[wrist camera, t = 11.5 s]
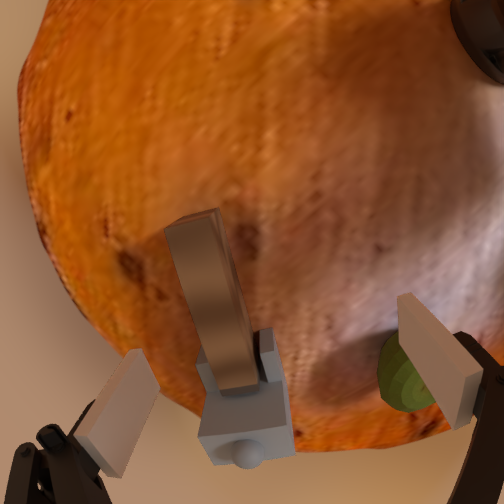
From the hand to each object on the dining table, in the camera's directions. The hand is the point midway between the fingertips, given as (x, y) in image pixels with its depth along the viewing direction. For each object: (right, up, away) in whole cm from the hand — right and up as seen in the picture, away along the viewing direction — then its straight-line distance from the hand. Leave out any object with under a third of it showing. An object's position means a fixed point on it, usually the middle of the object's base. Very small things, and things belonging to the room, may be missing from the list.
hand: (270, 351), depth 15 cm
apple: (+19, -7, +22) cm, 30 cm away
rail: (-4, 0, +20) cm, 20 cm away
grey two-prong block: (-2, -9, +22) cm, 24 cm away
